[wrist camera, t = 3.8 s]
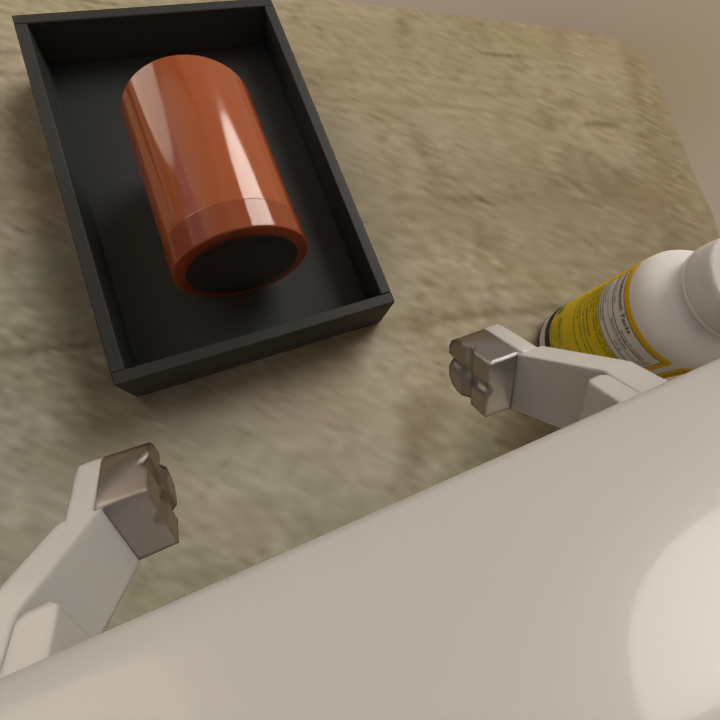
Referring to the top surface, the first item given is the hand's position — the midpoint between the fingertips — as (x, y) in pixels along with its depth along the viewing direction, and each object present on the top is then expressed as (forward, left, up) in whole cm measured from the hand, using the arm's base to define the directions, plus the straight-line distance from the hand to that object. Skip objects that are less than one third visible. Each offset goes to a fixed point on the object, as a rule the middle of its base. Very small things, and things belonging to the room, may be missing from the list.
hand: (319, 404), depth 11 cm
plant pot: (+5, +17, -8) cm, 19 cm away
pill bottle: (+19, -6, -13) cm, 23 cm away
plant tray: (+4, +15, -12) cm, 20 cm away
